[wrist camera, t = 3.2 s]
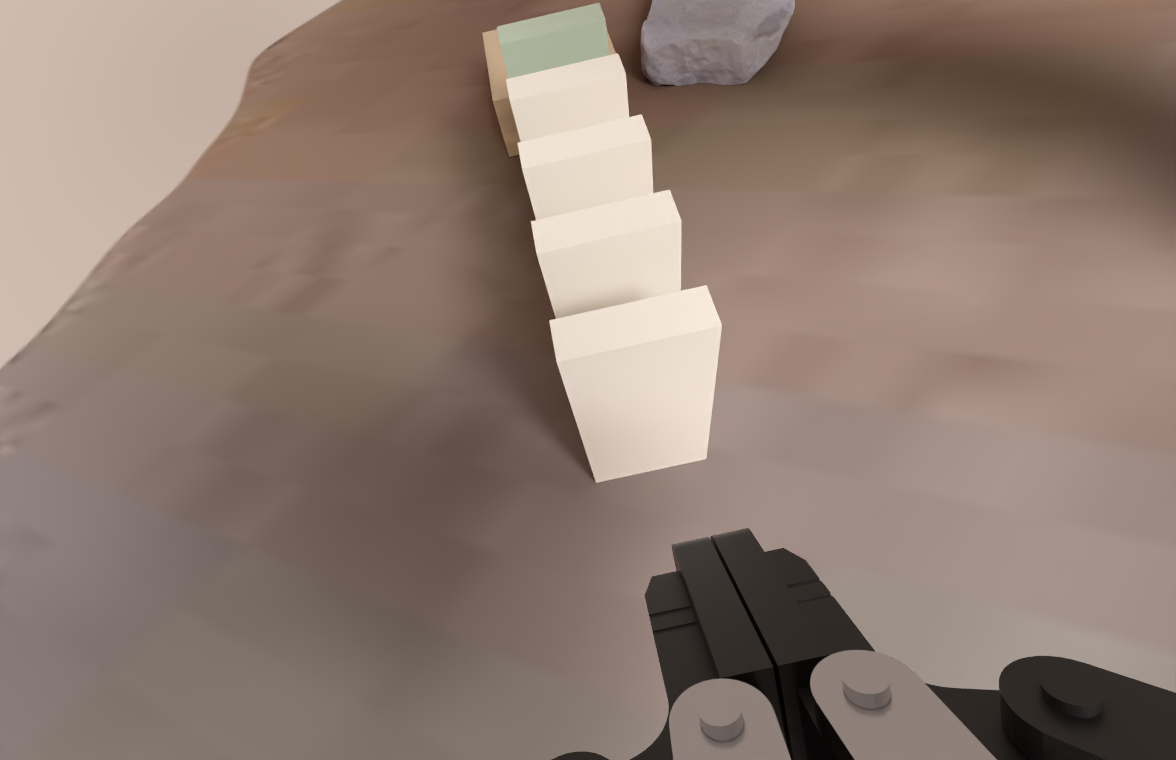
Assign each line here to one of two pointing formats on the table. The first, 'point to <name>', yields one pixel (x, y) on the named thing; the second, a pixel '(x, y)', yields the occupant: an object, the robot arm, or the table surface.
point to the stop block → (505, 89)
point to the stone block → (711, 39)
